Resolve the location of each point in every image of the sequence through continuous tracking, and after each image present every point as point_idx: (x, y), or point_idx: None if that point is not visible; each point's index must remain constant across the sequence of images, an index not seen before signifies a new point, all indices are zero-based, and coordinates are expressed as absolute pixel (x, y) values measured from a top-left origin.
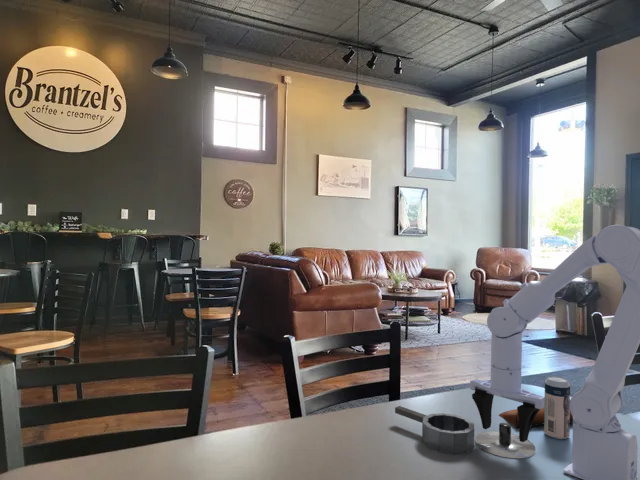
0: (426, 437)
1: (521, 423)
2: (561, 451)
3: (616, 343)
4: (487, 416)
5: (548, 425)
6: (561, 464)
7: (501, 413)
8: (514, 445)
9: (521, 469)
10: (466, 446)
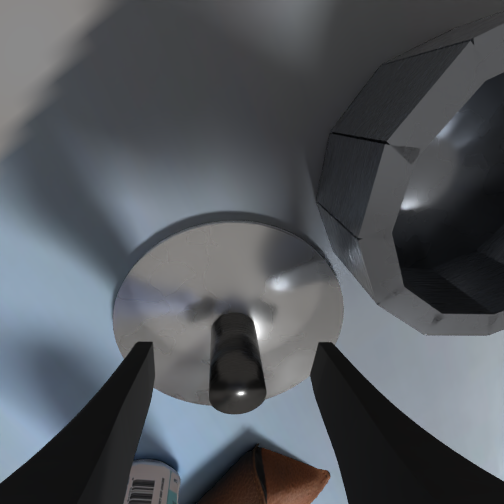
0: None
1: (99, 422)
2: (72, 408)
3: None
4: (337, 405)
5: (149, 501)
6: (3, 329)
7: (325, 483)
8: (196, 336)
9: (65, 166)
10: (345, 131)
